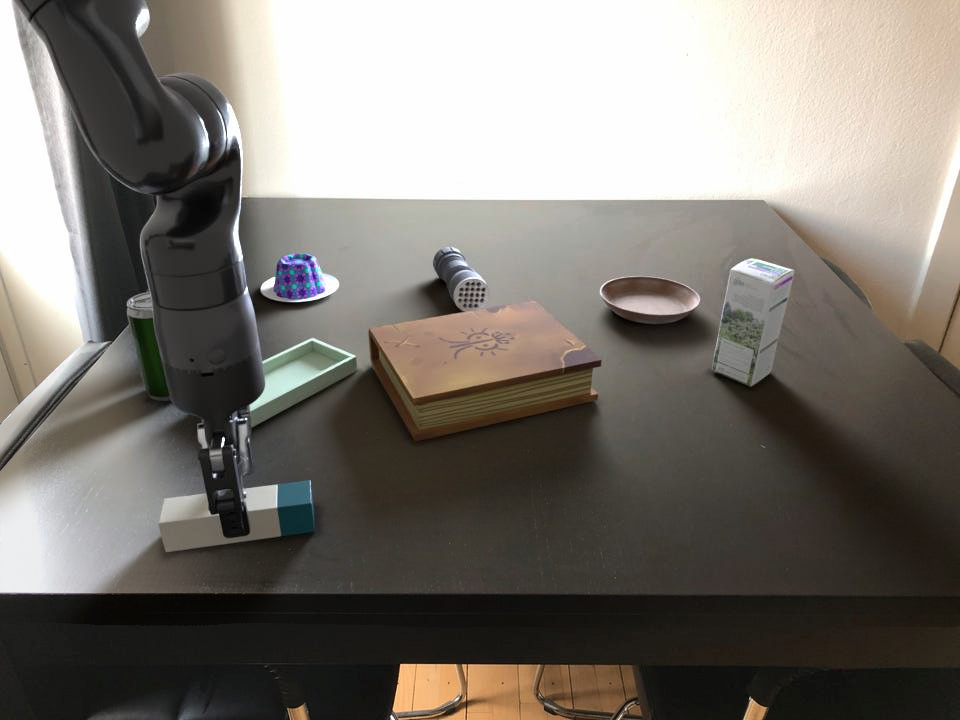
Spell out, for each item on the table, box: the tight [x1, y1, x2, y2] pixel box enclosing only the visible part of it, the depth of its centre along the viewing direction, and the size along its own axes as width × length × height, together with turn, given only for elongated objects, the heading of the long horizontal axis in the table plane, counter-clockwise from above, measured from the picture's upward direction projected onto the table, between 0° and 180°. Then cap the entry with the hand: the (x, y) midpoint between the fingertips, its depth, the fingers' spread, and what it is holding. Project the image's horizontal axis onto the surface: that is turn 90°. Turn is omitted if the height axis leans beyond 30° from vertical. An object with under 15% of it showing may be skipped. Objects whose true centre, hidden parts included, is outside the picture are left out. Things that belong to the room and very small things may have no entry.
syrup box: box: [711, 257, 795, 388], centre depth 92 cm, size 6×6×14 cm
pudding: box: [260, 253, 340, 303], centre depth 115 cm, size 12×12×5 cm
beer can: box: [125, 291, 171, 402], centre depth 86 cm, size 5×5×12 cm
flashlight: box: [432, 246, 491, 312], centre depth 115 cm, size 15×5×5 cm, turn 17°
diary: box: [367, 299, 602, 442], centre depth 91 cm, size 23×19×6 cm
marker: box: [157, 479, 316, 553], centre depth 67 cm, size 13×3×3 cm, turn 103°
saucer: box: [599, 275, 701, 325], centre depth 111 cm, size 15×15×3 cm
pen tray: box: [250, 337, 358, 428], centre depth 90 cm, size 17×8×2 cm, turn 143°
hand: (240, 502), depth 67 cm, fingers open, 8 cm apart
